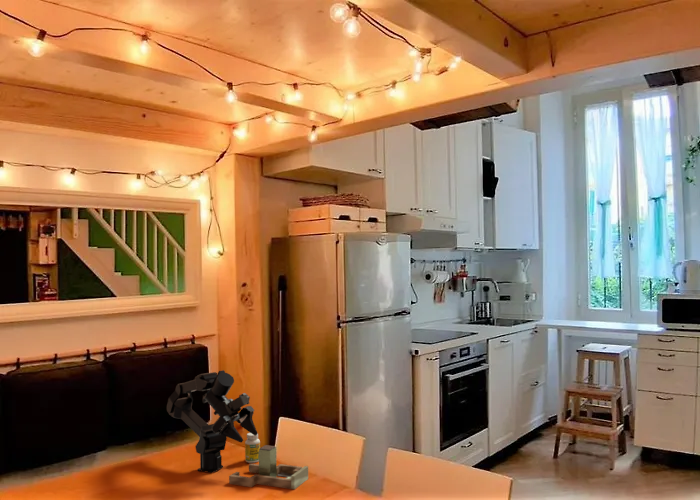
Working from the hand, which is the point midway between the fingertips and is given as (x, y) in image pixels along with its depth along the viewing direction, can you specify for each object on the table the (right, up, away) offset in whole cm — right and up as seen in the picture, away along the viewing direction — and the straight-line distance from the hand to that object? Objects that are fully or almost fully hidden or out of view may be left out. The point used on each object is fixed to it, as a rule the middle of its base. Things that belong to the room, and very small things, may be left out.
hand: (249, 437), depth 194 cm
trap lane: (+8, -13, -3) cm, 15 cm away
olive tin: (+6, -13, -3) cm, 14 cm away
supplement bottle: (-2, -14, +16) cm, 21 cm away
